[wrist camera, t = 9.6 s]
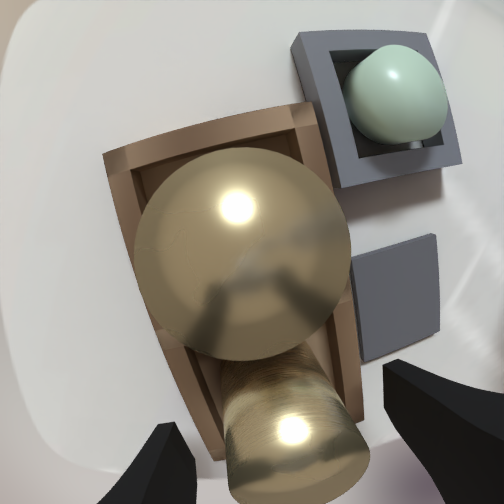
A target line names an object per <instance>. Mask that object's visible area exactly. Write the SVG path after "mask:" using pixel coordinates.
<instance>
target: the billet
mask: <svg viewBox="0 0 504 504" xmlns="http://www.w3.org/2000/svg"><path fill="white" fill-rule="evenodd" d="M220 376H221V393H222V409H223V424H224V438H225V451H226V464H227V476H228V486H229V491H230V493H231V495H232V497H233V498H234V499H235V500H236V501H237V502H238V503H240V504H326V503H328V502H330V501H332V500H334V499H336V498H337V497H339V496H341V495H342V494H344V493H345V492H347V491H348V490H349V489H350V488H351V487H353V486H354V485H355V484H356V483H357V482H358V481H359V479H360V478H361V477H362V476H363V474H364V472H365V471H366V469H367V467H368V464H369V461H370V450H369V447H368V445H367V443H366V442H365V440H364V438H363V437H362V435H361V433H360V431H359V430H358V428H357V426H356V425H355V423H354V421H353V419H352V418H351V416H350V414H349V413H348V411H347V409H346V408H345V406H344V404H343V402H342V401H341V399H340V397H339V396H338V394H337V392H336V390H335V389H334V387H333V385H332V384H331V382H330V380H329V378H328V377H327V375H326V373H325V372H324V370H323V368H322V367H321V365H320V363H319V361H318V360H317V358H316V356H315V355H314V353H313V351H312V349H311V348H310V346H309V345H308V343H307V342H306V341H303V342H302V343H300V344H298V345H297V346H295V347H293V348H291V349H289V350H287V351H285V352H283V353H280V354H277V355H274V356H271V357H267V358H263V359H258V360H248V361H233V360H225V359H223V360H222V363H221V368H220Z"/></svg>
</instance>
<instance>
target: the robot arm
mask: <svg viewBox="0 0 504 504" xmlns="http://www.w3.org/2000/svg"><path fill="white" fill-rule="evenodd" d="M383 392H384V409H385V411H386V412H387V414H388V416H389V418H390V420H391V422H392V423H393V425H394V427H395V429H396V430H397V431H398V433H399V434H400V436H401V437H402V438H403V439H404V441H405V442H406V444H407V445H408V446H409V447H410V449H411V450H412V451H413V453H414V454H415V455H416V457H417V458H418V459H419V461H420V462H421V463H422V465H423V466H424V467H425V469H426V470H427V471H428V473H429V474H430V476H431V477H432V479H433V481H434V483H435V485H436V487H437V488H438V490H439V492H440V494H441V496H442V497H443V500H444V502H445V504H504V394H502V393H496V392H491V391H486V390H481V389H477V388H473V387H470V386H466V385H463V384H460V383H457V382H454V381H451V380H448V379H446V378H443V377H440V376H438V375H435V374H433V373H430V372H428V371H426V370H423V369H421V368H419V367H416V366H414V365H412V364H409V363H407V362H405V361H402V360H400V359H396V360H394V361H391V362H389V363H386V364H384V365H383ZM196 494H197V475H196V464H195V458H194V457H193V455H192V453H191V451H190V450H189V448H188V446H187V444H186V442H185V440H184V439H183V437H182V435H181V433H180V431H179V429H178V427H177V425H176V424H175V422H170V423H163V424H158V425H157V426H156V428H155V429H154V431H153V432H152V434H151V435H150V437H149V438H148V440H147V441H146V443H145V444H144V446H143V447H142V449H141V450H140V452H139V453H138V455H137V456H136V458H135V459H134V460H133V462H132V463H131V465H130V466H129V468H128V469H127V470H126V471H125V473H124V474H123V475H122V476H121V478H120V479H119V480H118V482H117V483H116V484H115V485H114V486H113V487H112V489H111V490H110V491H109V492H108V493H107V494H106V495H105V496H104V497H103V498H102V499H101V500H100V501H99V502H98V503H97V504H196V497H197V495H196Z"/></svg>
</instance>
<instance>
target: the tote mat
mask: <svg viewBox="0 0 504 504" xmlns="http://www.w3.org/2000/svg"><path fill="white" fill-rule="evenodd" d="M350 273H351V279H352V286H353V293H354V300H355V308H356V316H357V324H358V332H359V341H360V351H361V359H362V360H363V361H364V362H367V361H369V360H372V359H375V358H377V357H380V356H382V355H385V354H387V353H390V352H392V351H395V350H397V349H400V348H402V347H404V346H407V345H409V344H412V343H414V342H416V341H418V340H421V339H423V338H425V337H427V336H430V335H432V334H434V333H436V332H438V331H440V290H439V268H438V253H437V241H436V235H435V234H432V233H430V234H427V235H424V236H421V237H417V238H414V239H411V240H408V241H404V242H401V243H398V244H395V245H391V246H388V247H385V248H381V249H378V250H375V251H371V252H368V253H364V254H361V255H358V256H354V257H351V264H350Z"/></svg>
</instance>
